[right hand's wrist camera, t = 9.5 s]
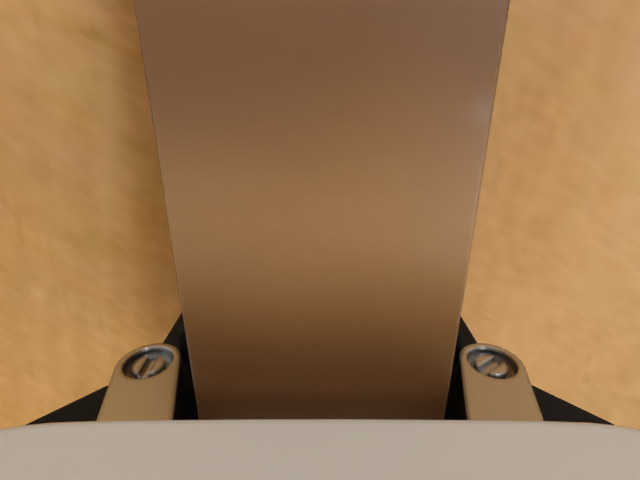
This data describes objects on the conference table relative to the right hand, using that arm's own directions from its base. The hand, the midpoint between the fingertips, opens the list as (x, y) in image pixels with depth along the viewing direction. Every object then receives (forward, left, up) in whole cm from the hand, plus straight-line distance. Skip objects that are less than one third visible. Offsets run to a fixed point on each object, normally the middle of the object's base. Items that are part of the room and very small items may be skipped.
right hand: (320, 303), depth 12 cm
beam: (+28, -6, -3) cm, 29 cm away
